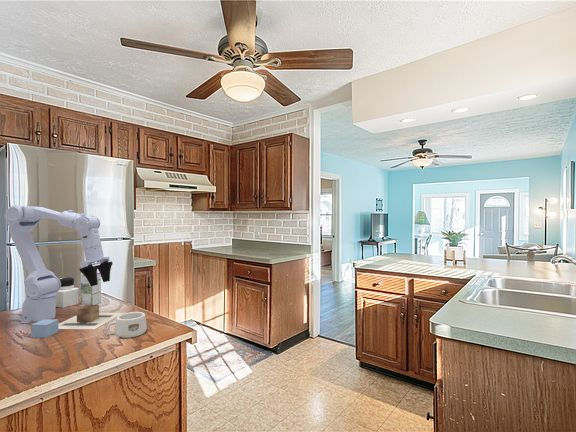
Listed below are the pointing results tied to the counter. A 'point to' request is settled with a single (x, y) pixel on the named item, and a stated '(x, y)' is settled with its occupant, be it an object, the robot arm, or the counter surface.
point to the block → (87, 313)
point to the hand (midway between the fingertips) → (100, 283)
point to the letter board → (95, 324)
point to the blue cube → (44, 328)
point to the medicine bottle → (67, 293)
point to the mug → (129, 325)
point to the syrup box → (90, 291)
